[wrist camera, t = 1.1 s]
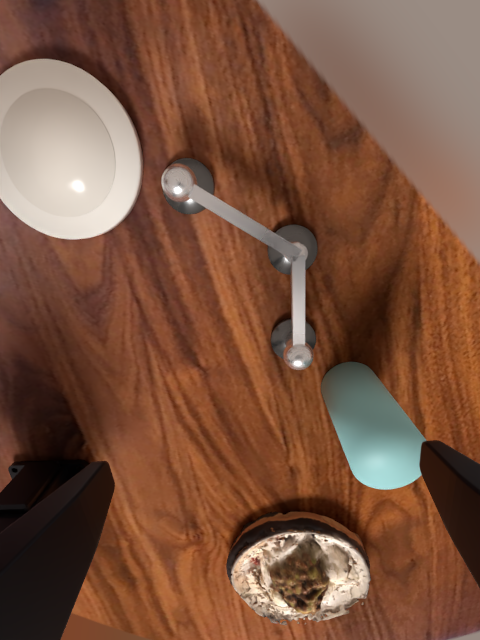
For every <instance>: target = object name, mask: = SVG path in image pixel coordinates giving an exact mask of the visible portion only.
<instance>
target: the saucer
mask: <svg viewBox="0 0 480 640" xmlns="http://www.w3.org/2000/svg"><path fill="white" fill-rule="evenodd" d="M142 179H143V155H142V149H141V144H140V140H139V137H138V134H137V131H136V129H135V126H134V124H133V122H132V120H131V118H130V116H129V115H128V113H127V111H126V110H125V108H124V107H123V105H122V104H121V103H120V101H119V100H118V99H117V98H116V97H115V96H114V95H113V94H112V92H111V91H110V90H109V89H107V88H106V87H105V86H104V85H103V84H102V83H100V82H99V81H98V80H97V79H96V78H94V77H93V76H92V75H90V74H89V73H87V72H86V71H84V70H82V69H80V68H78V67H76V66H74V65H72V64H69V63H66V62H63V61H59V60H52V59H34V60H29V61H24V62H22V63H19V64H16V65H14V66H13V67H11V68H9V69H8V70H6V71H5V72H4V73H3V74H1V75H0V199H1V200H2V201H3V203H4V204H5V205H6V206H7V207H8V208H9V209H10V211H11V212H12V213H13V214H15V215H16V216H17V217H18V218H19V219H20V220H22V221H23V222H24V223H26V224H27V225H29V226H30V227H32V228H34V229H36V230H37V231H39V232H42V233H44V234H47V235H49V236H53V237H57V238H62V239H84V238H91V237H96V236H99V235H102V234H104V233H107V232H109V231H111V230H112V229H114V228H115V227H117V226H118V225H119V224H120V223H121V222H122V221H124V220H125V218H126V217H127V216H128V215H129V213H130V212H131V210H132V209H133V207H134V205H135V203H136V201H137V199H138V196H139V193H140V190H141V186H142Z"/></svg>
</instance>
